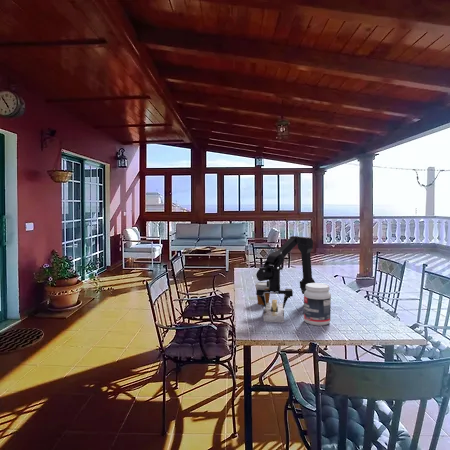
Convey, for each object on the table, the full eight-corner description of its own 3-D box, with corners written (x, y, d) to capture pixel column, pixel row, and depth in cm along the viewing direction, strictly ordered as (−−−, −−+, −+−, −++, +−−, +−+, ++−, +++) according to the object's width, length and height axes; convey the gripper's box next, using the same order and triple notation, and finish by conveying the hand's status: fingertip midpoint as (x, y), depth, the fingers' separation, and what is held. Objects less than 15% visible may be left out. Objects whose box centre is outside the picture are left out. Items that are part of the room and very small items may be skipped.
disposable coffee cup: (258, 306, 203) (258, 285, 203) (252, 302, 212) (252, 282, 212) (274, 305, 206) (274, 284, 205) (267, 301, 215) (267, 281, 214)
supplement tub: (298, 322, 175) (298, 285, 174) (312, 316, 184) (312, 281, 183) (321, 328, 166) (322, 289, 165) (335, 322, 175) (336, 285, 174)
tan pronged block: (276, 312, 190) (276, 299, 190) (276, 316, 184) (276, 303, 183) (272, 312, 191) (272, 299, 190) (271, 316, 184) (272, 303, 184)
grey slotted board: (284, 308, 198) (284, 303, 198) (284, 322, 175) (284, 316, 174) (265, 308, 200) (265, 302, 200) (263, 321, 176) (263, 315, 176)
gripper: (292, 276, 193) (292, 304, 193) (257, 275, 196) (257, 303, 197) (292, 280, 182) (292, 310, 183) (256, 279, 185) (256, 309, 186)
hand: (274, 308), depth 187 cm, fingers open, 9 cm apart
